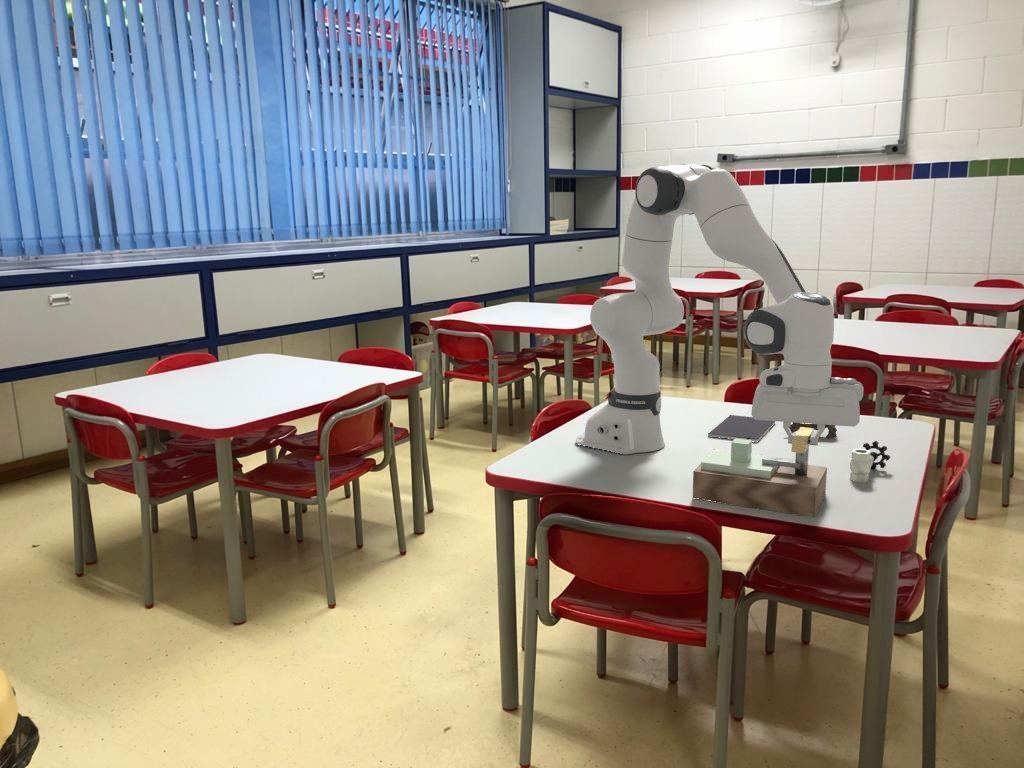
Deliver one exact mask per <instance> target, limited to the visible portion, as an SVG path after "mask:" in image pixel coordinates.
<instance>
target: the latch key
mask: <svg viewBox="0 0 1024 768" xmlns="http://www.w3.org/2000/svg"><path fill="white" fill-rule="evenodd" d="M814 431H815V430H814V428H805V427H800V429H799V430H798V431H796V433H795V434H796V435H795V436H794V438H793V439H792V444H791V448H790V449H791V453H795V458H785V457H781V458H778V457H779V456H773V457H770V455H765V456H764V457H763V459H762V464H768V465H776V466H783V467H791V468H795V474H796V475H807V470H808V465H809V449H810V446H811V445H810V438H811V435H815V434H814V433H815V432H814Z"/></svg>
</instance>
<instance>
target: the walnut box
mask: <svg viewBox="0 0 1024 768" xmlns="http://www.w3.org/2000/svg"><path fill="white" fill-rule="evenodd" d="M827 471H828V467H827V466H821V465H814V464H813V465H812V464H808V470H807V475H796V474H795V468H791V467H783V466H779V467H778V468H777V469H776V471H775V472H774V474H773V475H772V477H771V478H763V477H756V476H749V475H741V474H734V473H727V472H719V471H712V470H704V469H701V463H700V464H698V465H697V467H696V468H695V469H694V470H693V471H692V472H693V474H692V475H693V476H692V477H693V478H692V499H693V498H699V499H705V500H711V501H716V502H715V503H717V502H721V503H720V504H724V503H726V504H725V505H730V504H732V505H731V506H737V505H739V506H738V507H743V506H744V507H745V508H750V507H752V508H751V509H756V508H759V509H758V510H763V509H765V510H764V511H769V510H771V512H775V511H778V512H777V513H782V512H783V514H789V515H795V516H801V517H809V518H815V517H816V515H817V513H818V511H819V509H820V507H821V506H822V505H821V504H822V503H823V500H824V499H825V497H826V490H827V477H828V476H827V473H828V472H827ZM711 501H710V502H711ZM744 507H743V508H744Z"/></svg>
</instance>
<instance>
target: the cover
mask: <svg viewBox="0 0 1024 768" xmlns="http://www.w3.org/2000/svg"><path fill="white" fill-rule="evenodd" d="M730 443H731V444H730V445H731V446H730V447H731V450H725V449H715V448H714V449H713V450H712V451H711V452H710V453H708V455H706V457H705V458H704V459H702V460H701V462H700V464H701V469H704V470H712V471H719V472H727V473H734V474H741V475H749V476H756V477H763V478H771V477H772V475H773V474H774V472H775V471H776V469H777V468H778V467H779V466H776V465H768V464H762V459H763V457H764V456H766V455H763V454H756V453H752V449H753V448H752V447H753V442H752V440H747V439H738V438H735V439H734V440H731V442H730ZM769 456H770V455H769ZM770 457H774V456H772V455H771V456H770ZM777 457H778V458H782V457H781V456H777Z"/></svg>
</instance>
